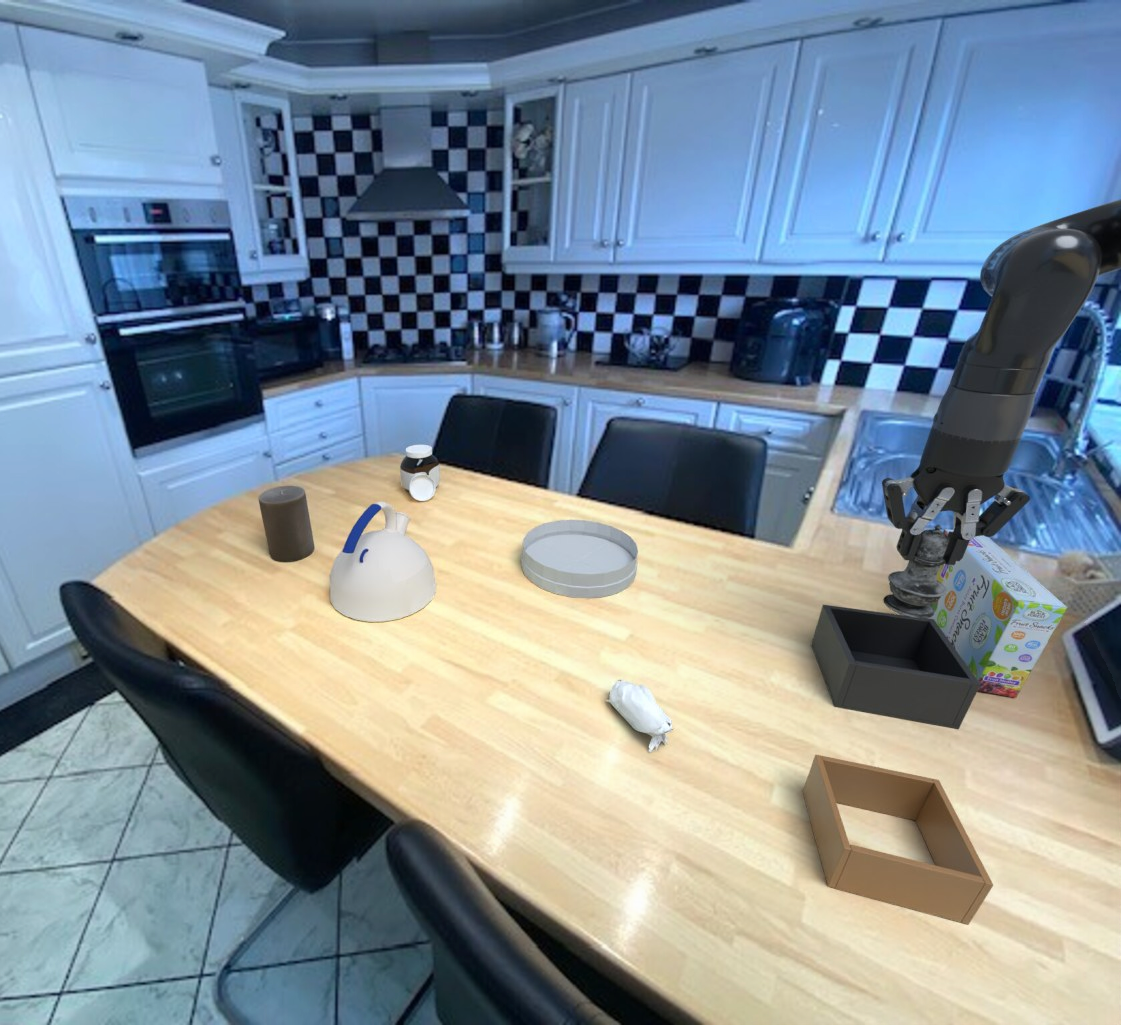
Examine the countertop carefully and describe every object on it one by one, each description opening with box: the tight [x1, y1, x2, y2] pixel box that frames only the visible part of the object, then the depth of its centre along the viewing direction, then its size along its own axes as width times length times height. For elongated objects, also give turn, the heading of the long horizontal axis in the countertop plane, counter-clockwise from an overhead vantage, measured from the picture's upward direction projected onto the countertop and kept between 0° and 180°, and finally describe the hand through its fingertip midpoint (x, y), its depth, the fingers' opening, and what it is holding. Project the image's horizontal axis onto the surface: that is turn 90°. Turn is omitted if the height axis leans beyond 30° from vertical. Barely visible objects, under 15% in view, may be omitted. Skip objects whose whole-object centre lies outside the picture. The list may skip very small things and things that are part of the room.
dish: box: [520, 519, 639, 599], centre depth 110 cm, size 22×22×5 cm
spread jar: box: [399, 444, 441, 502], centre depth 145 cm, size 12×11×12 cm
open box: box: [810, 604, 980, 730], centre depth 77 cm, size 14×14×8 cm
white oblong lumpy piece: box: [605, 680, 674, 753], centre depth 73 cm, size 5×7×10 cm
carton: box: [802, 754, 994, 925], centre depth 57 cm, size 11×11×6 cm
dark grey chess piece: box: [882, 524, 949, 618], centre depth 71 cm, size 6×6×12 cm
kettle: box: [329, 501, 438, 623], centre depth 102 cm, size 20×21×18 cm
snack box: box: [928, 528, 1068, 698], centre depth 82 cm, size 21×6×15 cm, turn 161°
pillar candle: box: [257, 484, 315, 563], centre depth 119 cm, size 10×10×15 cm
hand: (926, 559), depth 70 cm, fingers closed on dark grey chess piece, 3 cm apart
